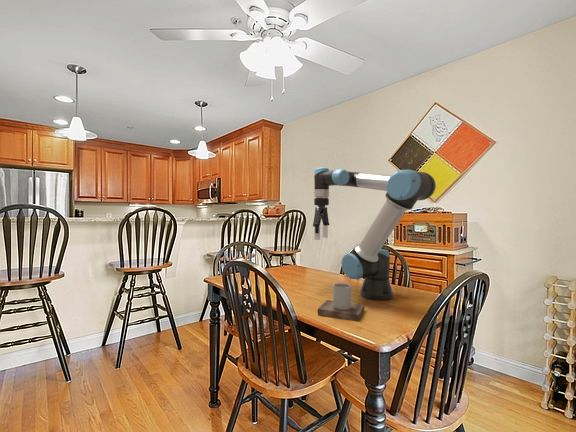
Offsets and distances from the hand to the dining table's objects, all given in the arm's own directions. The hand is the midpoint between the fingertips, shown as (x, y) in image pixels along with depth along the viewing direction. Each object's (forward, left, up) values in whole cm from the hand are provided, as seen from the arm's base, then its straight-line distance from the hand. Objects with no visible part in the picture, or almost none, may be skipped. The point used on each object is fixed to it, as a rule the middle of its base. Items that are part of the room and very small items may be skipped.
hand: (321, 238), depth 157 cm
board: (-18, +31, -27) cm, 45 cm away
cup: (-18, +31, -24) cm, 43 cm away
